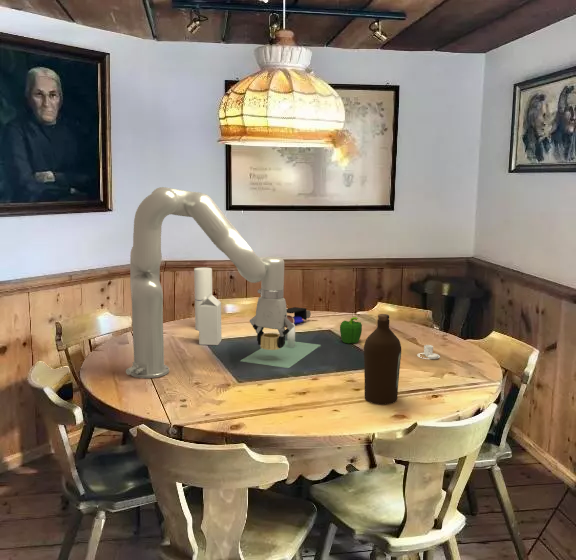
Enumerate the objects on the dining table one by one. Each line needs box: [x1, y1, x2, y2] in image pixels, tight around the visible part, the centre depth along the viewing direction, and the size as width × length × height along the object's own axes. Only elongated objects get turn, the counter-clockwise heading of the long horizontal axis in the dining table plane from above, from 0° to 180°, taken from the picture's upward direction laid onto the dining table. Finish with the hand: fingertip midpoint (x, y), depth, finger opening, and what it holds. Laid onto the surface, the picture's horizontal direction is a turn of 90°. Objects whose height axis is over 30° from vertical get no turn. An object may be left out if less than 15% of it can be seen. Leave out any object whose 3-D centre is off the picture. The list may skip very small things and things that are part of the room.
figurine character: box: [284, 306, 311, 328], centre depth 271 cm, size 7×8×15 cm
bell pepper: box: [339, 316, 363, 344], centre depth 244 cm, size 8×8×10 cm
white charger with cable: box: [416, 344, 441, 360], centre depth 227 cm, size 9×8×4 cm
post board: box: [240, 323, 322, 369], centre depth 225 cm, size 30×18×10 cm, turn 157°
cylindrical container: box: [193, 267, 213, 332], centre depth 261 cm, size 7×7×25 cm
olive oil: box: [363, 313, 402, 405], centre depth 183 cm, size 11×11×25 cm
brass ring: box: [259, 332, 280, 350], centre depth 217 cm, size 7×7×4 cm
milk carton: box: [198, 291, 222, 346], centre depth 241 cm, size 7×7×19 cm
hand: (270, 345), depth 217 cm, fingers closed on brass ring, 7 cm apart
